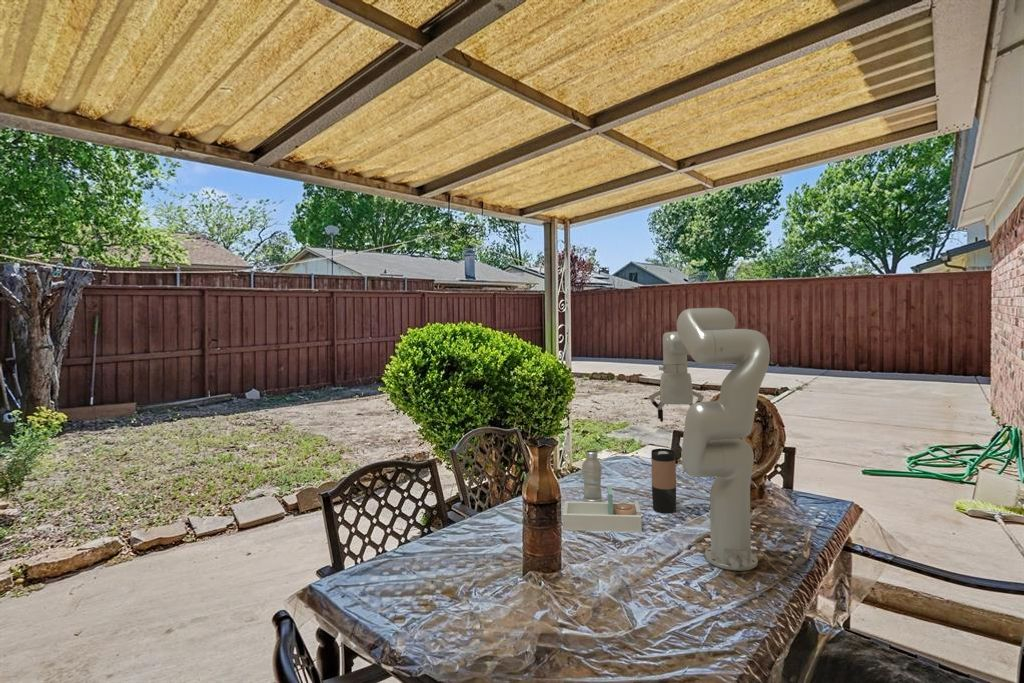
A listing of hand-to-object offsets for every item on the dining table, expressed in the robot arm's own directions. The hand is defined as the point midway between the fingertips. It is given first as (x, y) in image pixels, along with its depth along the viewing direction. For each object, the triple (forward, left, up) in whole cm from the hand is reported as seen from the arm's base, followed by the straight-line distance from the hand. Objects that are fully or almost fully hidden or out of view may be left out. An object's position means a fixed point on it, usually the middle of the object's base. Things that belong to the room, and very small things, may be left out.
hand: (676, 421), depth 172 cm
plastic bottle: (-4, +28, -29) cm, 41 cm away
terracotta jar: (-16, +19, -28) cm, 38 cm away
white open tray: (-16, +25, -29) cm, 42 cm away
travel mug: (-3, +5, -29) cm, 30 cm away
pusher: (-16, +23, -28) cm, 40 cm away
